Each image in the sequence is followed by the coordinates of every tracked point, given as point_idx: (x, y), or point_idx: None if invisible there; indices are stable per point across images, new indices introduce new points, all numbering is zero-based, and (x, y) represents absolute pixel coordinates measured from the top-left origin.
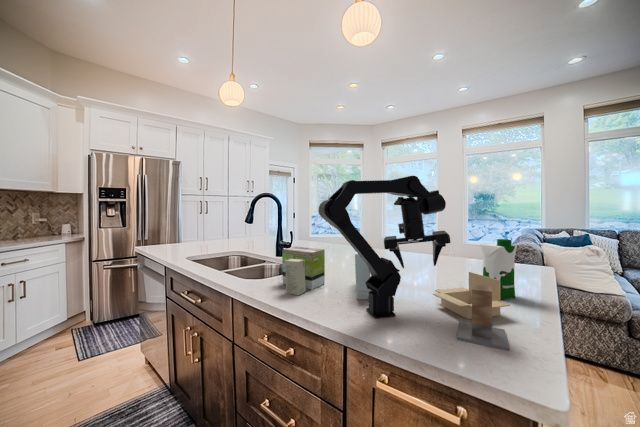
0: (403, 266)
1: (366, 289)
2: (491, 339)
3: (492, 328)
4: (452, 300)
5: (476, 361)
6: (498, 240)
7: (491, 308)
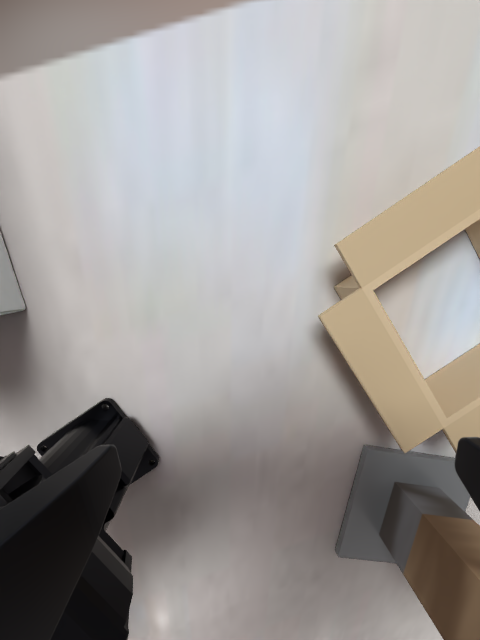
0: (106, 503)
1: None
2: None
3: (449, 470)
4: (391, 392)
5: (353, 629)
6: None
7: None
